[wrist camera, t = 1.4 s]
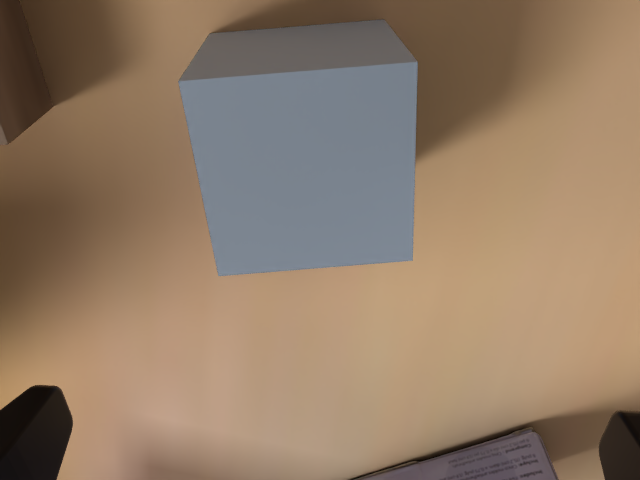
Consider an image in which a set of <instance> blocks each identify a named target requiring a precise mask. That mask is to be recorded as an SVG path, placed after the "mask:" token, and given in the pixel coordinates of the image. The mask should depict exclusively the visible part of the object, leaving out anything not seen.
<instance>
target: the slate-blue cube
mask: <svg viewBox="0 0 640 480" xmlns="http://www.w3.org/2000/svg"><path fill="white" fill-rule="evenodd" d="M417 71H418V62H417V60H416V59H415V58H414V56H413V55H412V54H411V53H410V51H409V50H408V49H407V48H406V46H405V45H404V44H403V43H402V41H401V40H400V39H399V37H398V36H397V35H396V34H395V32H394V31H393V30H392V29H391V27H390V26H389V25H388V23H387V22H386V21H385V20H384V19H382V20H369V21H357V22H344V23H332V24H320V25H307V26H295V27H283V28H270V29H258V30H245V31H233V32H221V33H210V34H209V35H208V37H207V38H206V40H205V41H204V43H203V44H202V46H201V47H200V49H199V50H198V52H197V54H196V55H195V57H194V58H193V60H192V61H191V63H190V64H189V66H188V67H187V69H186V70H185V72H184V73H183V75H182V76H181V78H180V79H179V81H178V82H179V87H180V92H181V97H182V101H183V106H184V111H185V116H186V121H187V126H188V130H189V135H190V140H191V145H192V150H193V155H194V160H195V164H196V169H197V174H198V179H199V184H200V189H201V193H202V198H203V203H204V208H205V213H206V218H207V222H208V227H209V232H210V237H211V242H212V247H213V252H214V256H215V261H216V266H217V271H218V276H226V275H239V274H251V273H264V272H276V271H289V270H301V269H313V268H326V267H338V266H351V265H363V264H376V263H388V262H401V261H413V227H414V188H415V149H416V110H417Z"/></svg>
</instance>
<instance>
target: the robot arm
mask: <svg viewBox="0 0 640 480" xmlns="http://www.w3.org/2000/svg"><path fill="white" fill-rule="evenodd" d="M72 426H73V420H72V415H71V412H70V410H69V407H68V405H67V402H66V400H65V397H64V395H63V392H62V390H61V389H60V388H59V387H58V386H48V385H35V386H32V387H30V388H29V389H27V390H26V391H25V392H23V393H22V394H21V395H19V396H18V397H17V398H15V399H14V400H13V401H12V402H10V403H9V404H8V405H6V406H5V407H4V408H2V409H1V410H0V480H56V479H57V476H58V473H59V470H60V467H61V464H62V460H63V457H64V454H65V451H66V448H67V445H68V441H69V438H70V435H71V432H72ZM599 456H600V461H601V465H602V469H603V473H604V477H605V480H640V412H638V411H616V412H615V413H613V415H612V417H611V419H610V421H609V423H608V425H607V427H606V429H605V431H604V434H603V436H602V438H601V440H600V444H599Z"/></svg>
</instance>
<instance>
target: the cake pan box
mask: <svg viewBox="0 0 640 480" xmlns="http://www.w3.org/2000/svg"><path fill="white" fill-rule="evenodd" d="M354 480H559V479H558V477H557V475H556V472H555V470H554V467H553V465H552V462H551V460H550V458H549V455H548V453H547V450H546V448H545V445H544V443H543V441H542V438H541V437H540V435H538V434H537V433H536V432H535V431H534V429H533V428H532V427H529V428H525V429H522V430H519V431H516V432H513V433H511V434H510V435H507V436H504V437H501V438H497V439H494V440H491V441H488V442H484V443H481V444H478V445H474V446H471V447H468V448H465V449H461V450H458V451H455V452H452V453H448V454H445V455H442V456H439V457H435V458H432V459H429V460H425V461H422V462H418V461H412V462H409V463H405V464H402V465H399V466H396V467H393V468H389V469H386V470H383V471H379V472H375V473H373V474H370V475H367V476H363V477H361V478H357V479H354Z"/></svg>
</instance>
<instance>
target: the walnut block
mask: <svg viewBox="0 0 640 480" xmlns="http://www.w3.org/2000/svg"><path fill="white" fill-rule="evenodd" d="M52 107H53V105H52V102H51V99H50V95H49V92H48V89H47V86H46V83H45V80H44V77H43V73H42V70H41V67H40V64H39V61H38V58H37V54H36V51H35V48H34V45H33V42H32V39H31V36H30V32H29V29H28V26H27V23H26V20H25V17H24V14H23V10H22V7H21V4H20V1H19V0H0V145H7V144H9V143H11V142H12V141H13V140H14V139H15V138H16V137H18V136H19V135H20V134H21V133H22V132H24V131H25V130H26V129H27V128H28V127H30V126H31V125H32V124H33V123H34V122H36V121H37V120H38V119H39V118H40V117H41V116H43V115H44V114H45V113H46V112H47V111H49V110H50V109H51V108H52Z"/></svg>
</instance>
